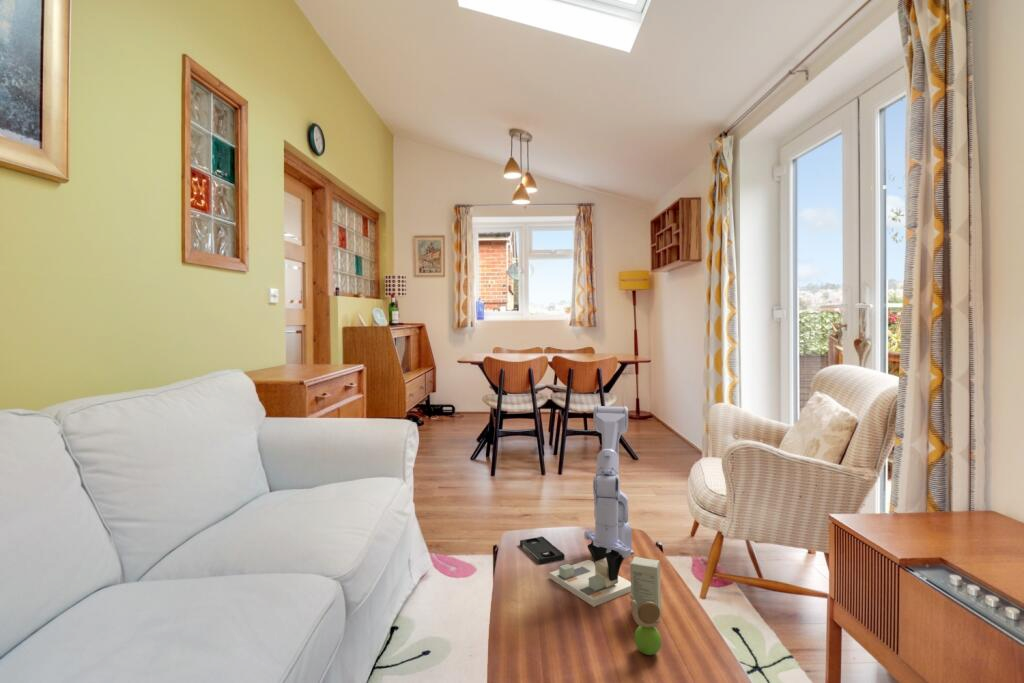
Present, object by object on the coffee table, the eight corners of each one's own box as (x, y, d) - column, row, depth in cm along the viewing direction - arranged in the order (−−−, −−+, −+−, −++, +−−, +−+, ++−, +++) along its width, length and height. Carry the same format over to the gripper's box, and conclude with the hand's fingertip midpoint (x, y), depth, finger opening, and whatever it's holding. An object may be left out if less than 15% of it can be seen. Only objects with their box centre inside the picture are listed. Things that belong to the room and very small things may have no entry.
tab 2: (597, 583, 127) (597, 574, 127) (604, 587, 125) (604, 578, 125) (588, 587, 125) (588, 577, 125) (595, 591, 123) (595, 581, 123)
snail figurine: (625, 645, 104) (625, 588, 104) (655, 643, 105) (655, 586, 104) (634, 662, 99) (634, 601, 99) (665, 660, 99) (665, 600, 99)
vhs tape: (519, 546, 154) (519, 540, 154) (542, 542, 157) (542, 536, 157) (539, 566, 141) (539, 559, 141) (564, 561, 144) (564, 554, 144)
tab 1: (567, 572, 133) (567, 563, 133) (573, 575, 131) (573, 566, 131) (559, 575, 131) (559, 566, 131) (565, 578, 129) (565, 569, 129)
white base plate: (588, 564, 141) (588, 559, 141) (634, 590, 127) (634, 583, 127) (549, 578, 133) (549, 572, 133) (593, 606, 119) (593, 600, 119)
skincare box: (661, 612, 116) (661, 560, 116) (658, 621, 113) (658, 568, 112) (633, 606, 119) (633, 555, 119) (630, 615, 115) (630, 562, 115)
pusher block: (606, 576, 129) (606, 557, 129) (617, 582, 126) (617, 563, 126) (595, 580, 127) (595, 561, 127) (606, 587, 124) (606, 567, 124)
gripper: (575, 517, 130) (575, 568, 130) (616, 535, 118) (616, 592, 118) (595, 511, 134) (595, 562, 134) (636, 528, 122) (636, 584, 122)
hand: (606, 575), depth 127 cm, fingers closed on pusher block, 4 cm apart
